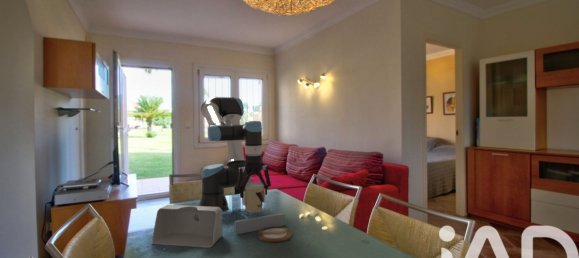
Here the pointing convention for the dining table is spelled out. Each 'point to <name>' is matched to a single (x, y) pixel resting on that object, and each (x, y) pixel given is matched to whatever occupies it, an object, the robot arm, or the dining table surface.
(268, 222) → the grey wall
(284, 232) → the walnut mat
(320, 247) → the dining table surface
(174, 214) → the white open storage bin
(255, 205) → the coffee cup
